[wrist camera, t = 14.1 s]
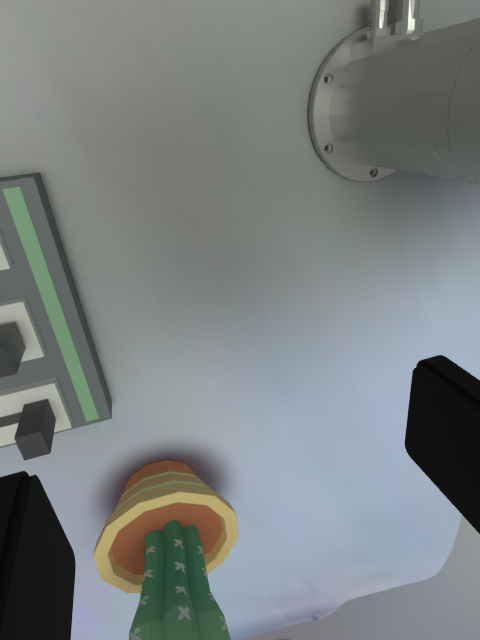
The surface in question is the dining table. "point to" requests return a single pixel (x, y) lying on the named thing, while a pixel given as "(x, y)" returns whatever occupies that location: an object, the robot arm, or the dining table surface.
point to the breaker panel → (43, 327)
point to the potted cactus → (168, 552)
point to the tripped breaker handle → (10, 349)
